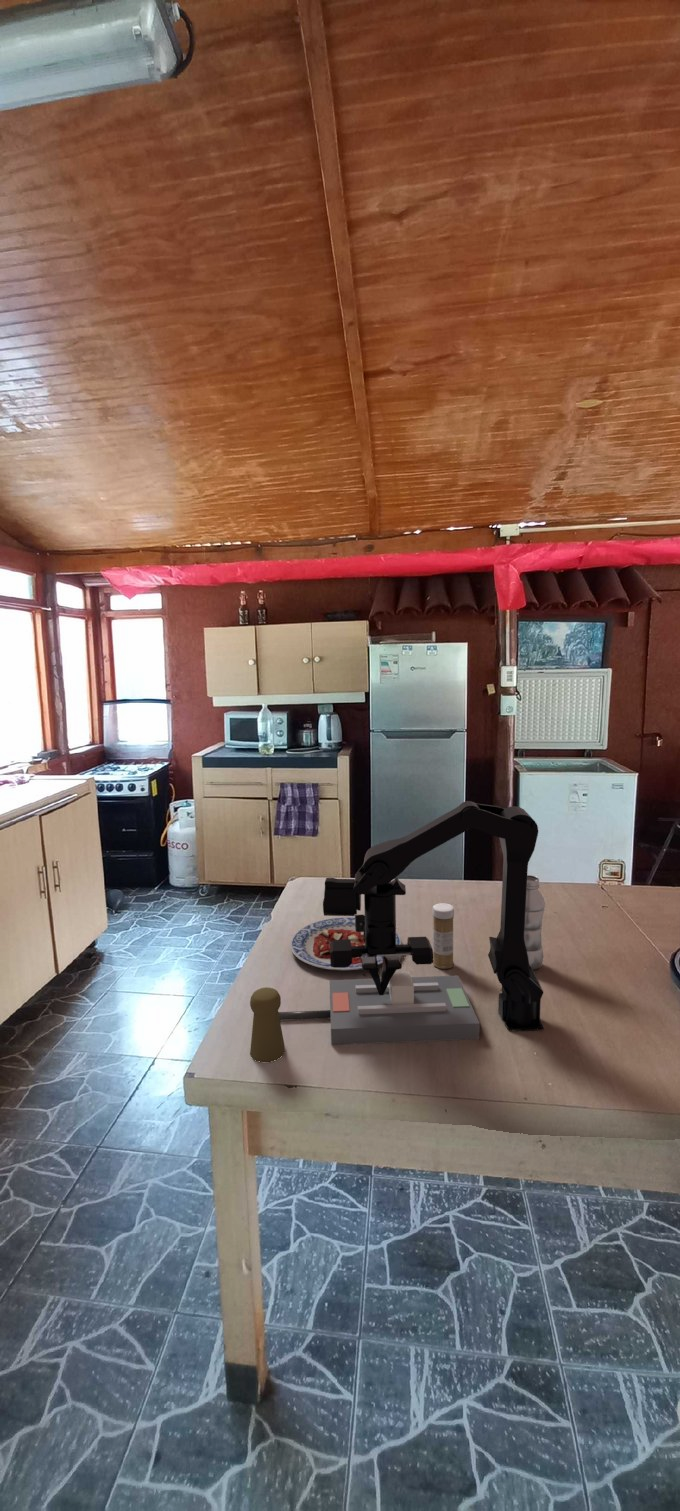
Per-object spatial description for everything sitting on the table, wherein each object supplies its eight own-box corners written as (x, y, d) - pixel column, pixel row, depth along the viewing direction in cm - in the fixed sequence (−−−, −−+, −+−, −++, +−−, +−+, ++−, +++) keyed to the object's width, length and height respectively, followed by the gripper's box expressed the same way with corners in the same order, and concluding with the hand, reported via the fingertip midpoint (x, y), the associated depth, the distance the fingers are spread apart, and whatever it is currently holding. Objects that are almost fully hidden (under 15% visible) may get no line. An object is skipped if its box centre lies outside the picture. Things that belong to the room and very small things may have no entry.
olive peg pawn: (268, 1035, 105) (265, 978, 104) (292, 1049, 102) (290, 990, 100) (242, 1053, 101) (239, 993, 99) (267, 1067, 97) (264, 1006, 95)
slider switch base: (458, 989, 119) (458, 970, 118) (479, 1038, 103) (479, 1018, 103) (280, 995, 118) (279, 977, 117) (273, 1047, 102) (273, 1025, 102)
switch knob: (409, 991, 113) (409, 971, 112) (413, 1005, 108) (413, 985, 107) (389, 991, 113) (388, 972, 112) (392, 1006, 108) (391, 986, 107)
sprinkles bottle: (451, 959, 131) (451, 902, 129) (455, 969, 127) (456, 910, 125) (430, 959, 131) (430, 902, 129) (434, 970, 127) (434, 911, 125)
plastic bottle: (506, 967, 127) (508, 879, 124) (520, 955, 132) (522, 870, 129) (534, 977, 123) (537, 886, 120) (548, 965, 128) (551, 877, 125)
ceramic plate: (273, 970, 128) (273, 957, 128) (310, 920, 153) (310, 910, 153) (389, 985, 122) (389, 972, 121) (409, 931, 146) (409, 919, 146)
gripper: (423, 896, 116) (423, 970, 118) (328, 899, 115) (330, 973, 118) (433, 920, 105) (433, 1001, 107) (329, 924, 104) (331, 1005, 107)
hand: (381, 994), depth 110 cm, fingers closed
